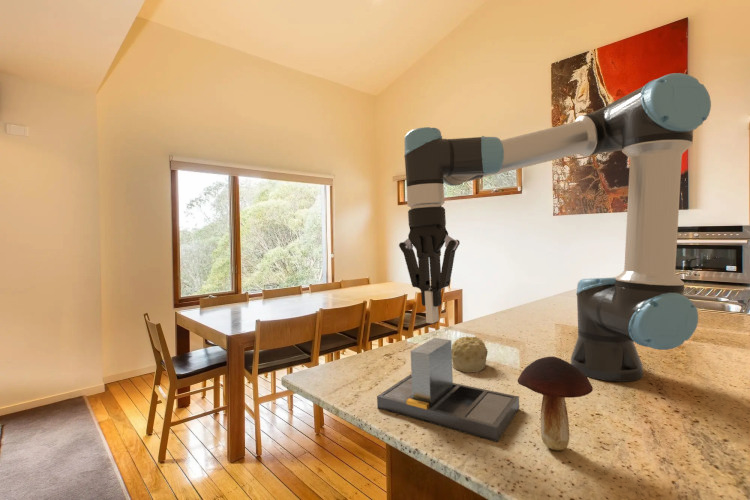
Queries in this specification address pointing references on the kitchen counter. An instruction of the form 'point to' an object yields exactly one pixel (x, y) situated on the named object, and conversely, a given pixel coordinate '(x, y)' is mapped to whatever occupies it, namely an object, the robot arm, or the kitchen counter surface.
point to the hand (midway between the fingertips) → (432, 321)
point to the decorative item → (469, 354)
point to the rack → (455, 408)
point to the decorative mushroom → (555, 395)
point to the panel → (432, 371)
